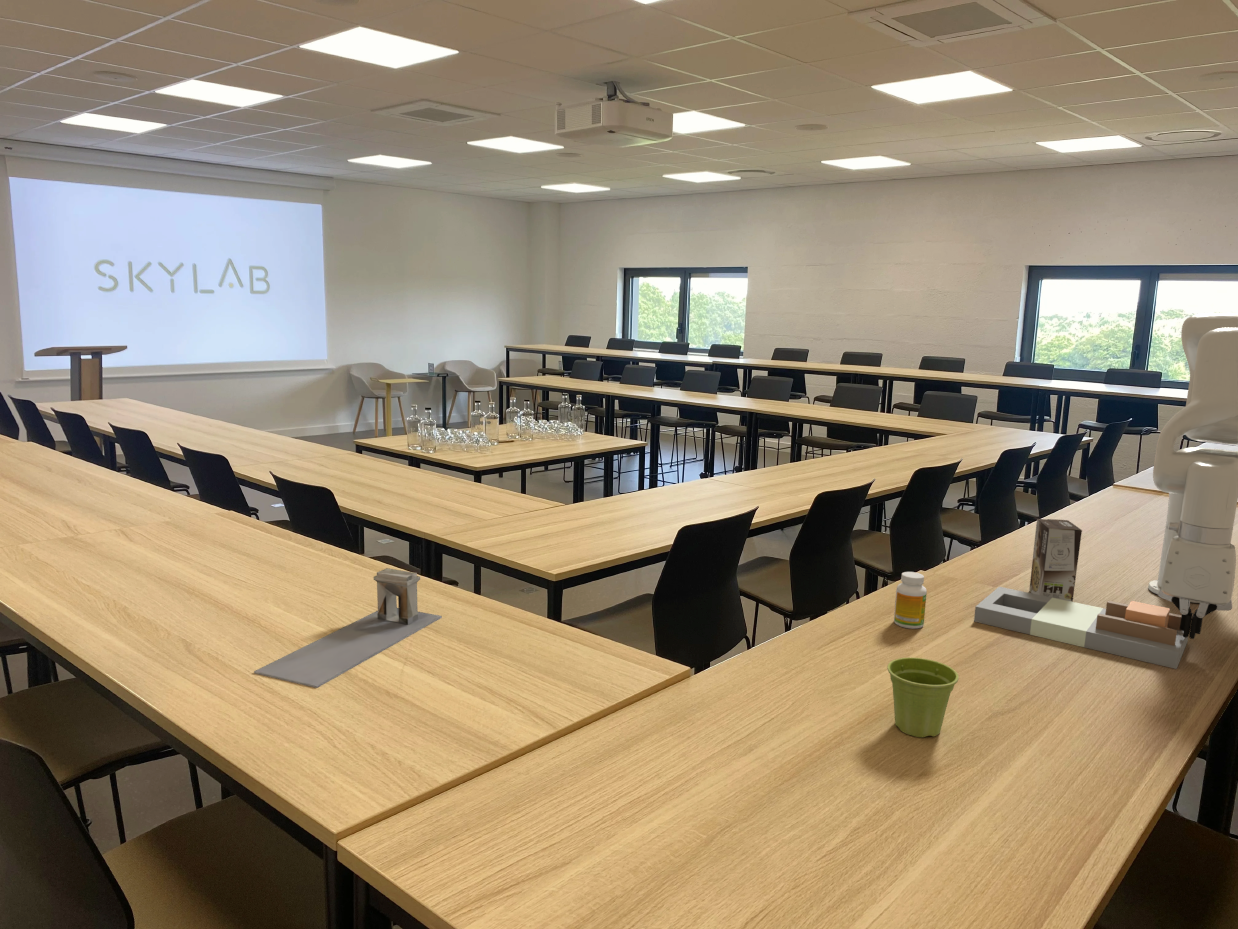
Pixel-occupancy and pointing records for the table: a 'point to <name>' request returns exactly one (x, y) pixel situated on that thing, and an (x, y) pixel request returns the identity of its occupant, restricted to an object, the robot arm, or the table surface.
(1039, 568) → the coffee box
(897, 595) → the supplement bottle
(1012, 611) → the compartment tray
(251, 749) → the table surface
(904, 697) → the plant pot
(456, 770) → the table surface
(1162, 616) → the block
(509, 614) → the table surface
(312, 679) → the monument
